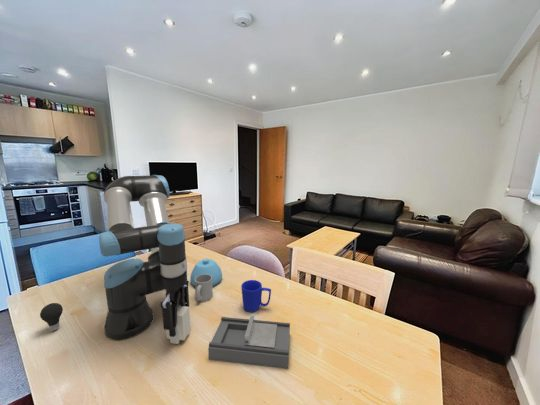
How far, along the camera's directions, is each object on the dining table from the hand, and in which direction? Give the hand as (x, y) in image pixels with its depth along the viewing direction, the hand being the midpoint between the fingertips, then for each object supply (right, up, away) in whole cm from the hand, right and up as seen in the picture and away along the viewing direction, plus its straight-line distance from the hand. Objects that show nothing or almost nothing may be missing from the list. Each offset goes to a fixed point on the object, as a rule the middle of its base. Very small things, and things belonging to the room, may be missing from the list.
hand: (179, 336), depth 76 cm
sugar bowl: (-1, +6, +36) cm, 36 cm away
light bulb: (-45, 0, +3) cm, 45 cm away
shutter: (+28, +2, -4) cm, 28 cm away
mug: (+25, +2, +16) cm, 30 cm away
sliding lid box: (+25, -2, -3) cm, 25 cm away
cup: (+2, +3, +22) cm, 22 cm away
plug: (0, -1, 0) cm, 1 cm away
